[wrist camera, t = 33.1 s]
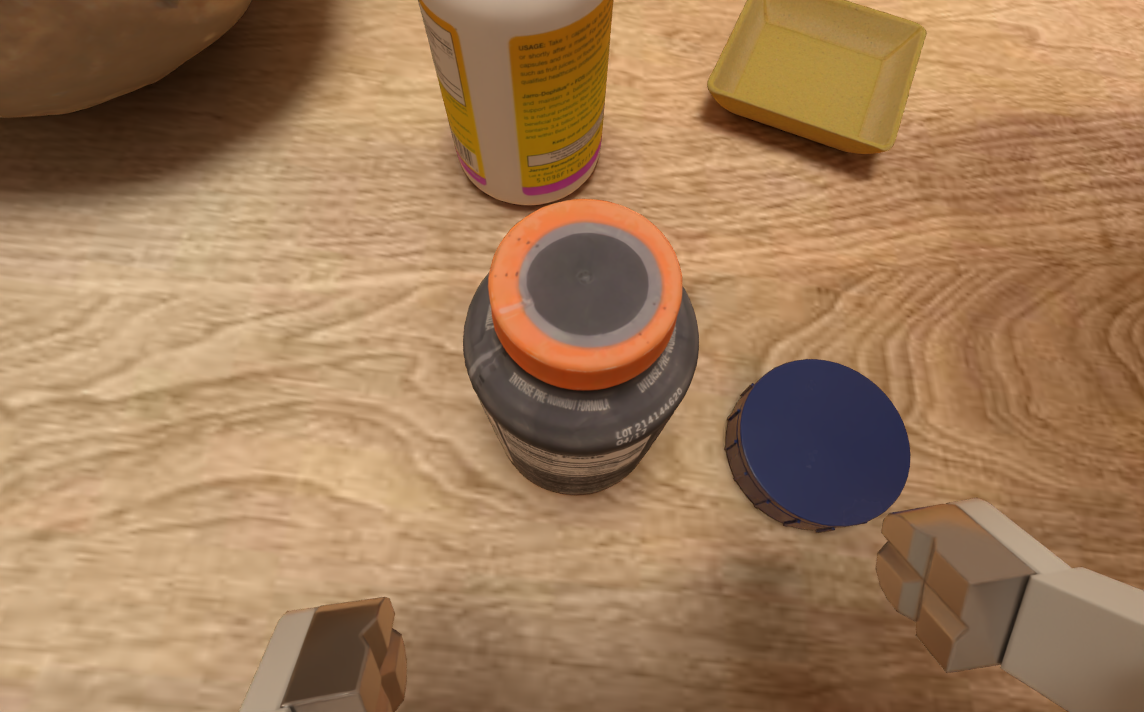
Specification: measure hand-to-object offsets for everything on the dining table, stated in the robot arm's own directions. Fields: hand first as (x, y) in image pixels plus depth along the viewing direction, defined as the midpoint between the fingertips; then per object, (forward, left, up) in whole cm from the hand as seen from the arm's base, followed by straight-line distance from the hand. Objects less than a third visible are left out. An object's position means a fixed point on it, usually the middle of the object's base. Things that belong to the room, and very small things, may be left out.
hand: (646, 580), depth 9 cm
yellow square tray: (-13, -22, -12) cm, 28 cm away
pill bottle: (0, -6, -11) cm, 13 cm away
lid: (-8, -4, -10) cm, 13 cm away
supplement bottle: (+1, -19, -11) cm, 22 cm away
